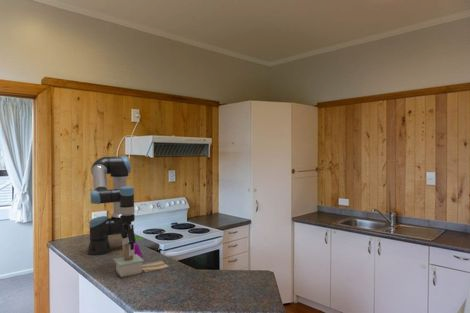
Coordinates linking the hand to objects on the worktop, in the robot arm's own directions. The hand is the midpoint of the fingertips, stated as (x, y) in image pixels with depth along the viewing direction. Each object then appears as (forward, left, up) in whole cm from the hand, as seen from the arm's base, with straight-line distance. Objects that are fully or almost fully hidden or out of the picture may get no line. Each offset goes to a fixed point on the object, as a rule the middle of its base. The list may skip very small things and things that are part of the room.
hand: (128, 252), depth 177 cm
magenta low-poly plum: (-19, +8, -11) cm, 24 cm away
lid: (0, 0, -5) cm, 5 cm away
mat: (0, +14, -11) cm, 18 cm away
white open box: (0, 0, -11) cm, 11 cm away
